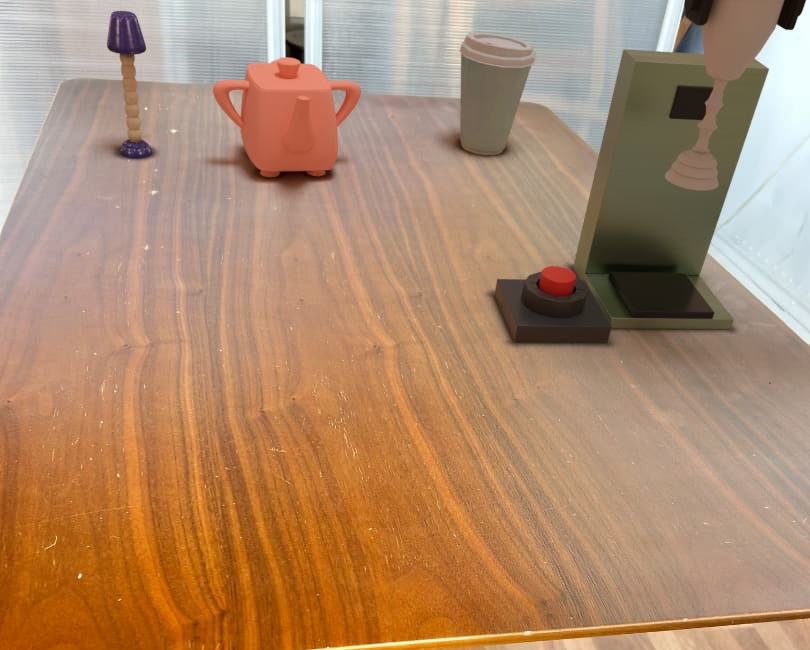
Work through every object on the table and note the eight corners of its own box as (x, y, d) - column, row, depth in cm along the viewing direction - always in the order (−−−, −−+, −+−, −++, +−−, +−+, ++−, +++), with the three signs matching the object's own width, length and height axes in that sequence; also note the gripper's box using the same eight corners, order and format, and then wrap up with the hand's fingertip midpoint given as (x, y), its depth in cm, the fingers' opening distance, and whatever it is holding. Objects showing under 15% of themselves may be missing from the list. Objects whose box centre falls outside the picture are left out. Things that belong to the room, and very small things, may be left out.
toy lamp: (127, 146, 120) (109, 6, 108) (161, 150, 120) (147, 10, 108) (115, 158, 116) (96, 15, 105) (150, 162, 116) (135, 20, 105)
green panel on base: (683, 271, 106) (752, 56, 90) (729, 331, 96) (816, 102, 80) (572, 269, 104) (623, 48, 88) (607, 330, 94) (672, 94, 78)
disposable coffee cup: (465, 131, 136) (479, 21, 125) (530, 148, 133) (550, 37, 122) (436, 151, 128) (448, 36, 118) (504, 169, 125) (522, 53, 115)
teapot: (272, 137, 127) (270, 35, 118) (368, 163, 123) (374, 59, 114) (202, 172, 116) (194, 62, 107) (306, 202, 111) (306, 90, 102)
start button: (567, 281, 93) (571, 266, 92) (576, 298, 91) (580, 282, 90) (534, 281, 93) (537, 265, 92) (543, 297, 90) (546, 281, 89)
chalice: (704, 164, 86) (770, -53, 74) (744, 192, 82) (822, -35, 70) (639, 167, 84) (697, -56, 72) (677, 196, 80) (744, -37, 68)
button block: (580, 298, 99) (588, 264, 96) (606, 345, 91) (616, 310, 89) (493, 297, 97) (499, 263, 94) (513, 344, 90) (520, 309, 87)
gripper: (730, -271, 58) (657, 31, 70) (963, -246, 61) (854, 40, 73) (687, -273, 63) (626, 7, 76) (903, -250, 66) (811, 17, 78)
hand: (739, 21), depth 74 cm, fingers closed on chalice, 7 cm apart
